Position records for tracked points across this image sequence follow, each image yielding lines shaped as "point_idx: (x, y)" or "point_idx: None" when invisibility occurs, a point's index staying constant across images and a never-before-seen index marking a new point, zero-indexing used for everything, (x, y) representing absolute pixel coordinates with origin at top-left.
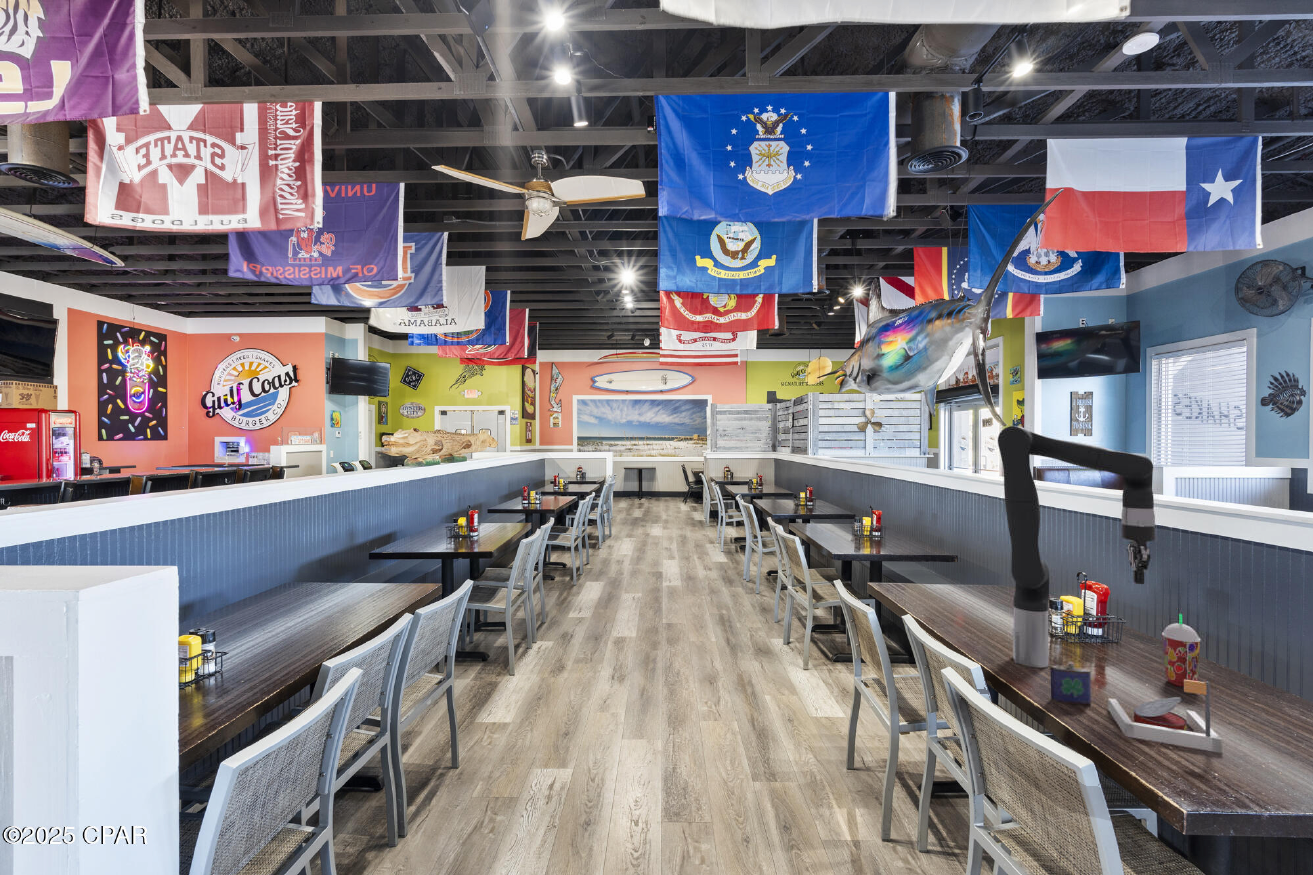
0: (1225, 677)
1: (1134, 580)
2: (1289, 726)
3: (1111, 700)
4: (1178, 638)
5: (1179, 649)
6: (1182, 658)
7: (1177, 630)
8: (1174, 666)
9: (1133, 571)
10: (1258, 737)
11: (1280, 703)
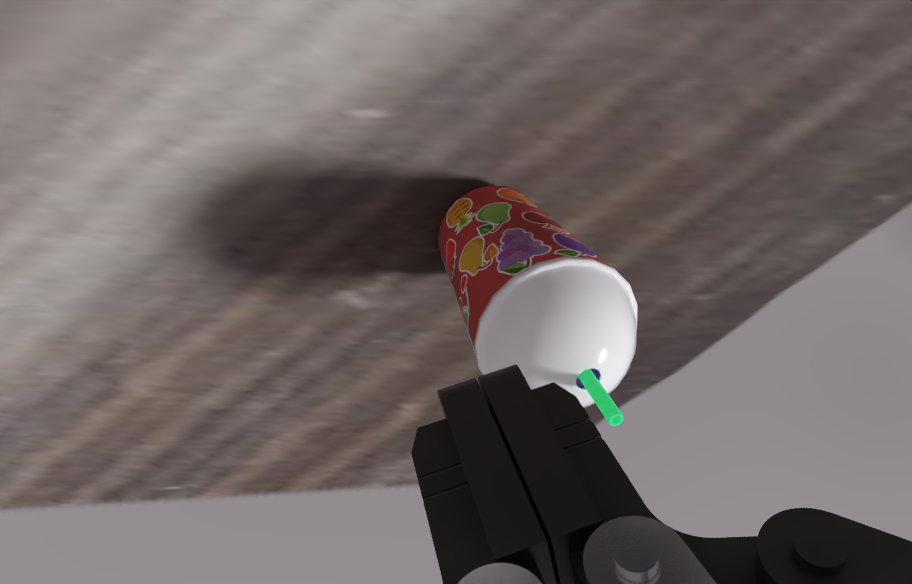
0: (659, 330)
1: (454, 405)
2: (242, 475)
3: None
4: (482, 334)
5: (465, 305)
6: (458, 292)
7: (518, 353)
8: (455, 242)
9: (567, 500)
10: (24, 432)
11: None
